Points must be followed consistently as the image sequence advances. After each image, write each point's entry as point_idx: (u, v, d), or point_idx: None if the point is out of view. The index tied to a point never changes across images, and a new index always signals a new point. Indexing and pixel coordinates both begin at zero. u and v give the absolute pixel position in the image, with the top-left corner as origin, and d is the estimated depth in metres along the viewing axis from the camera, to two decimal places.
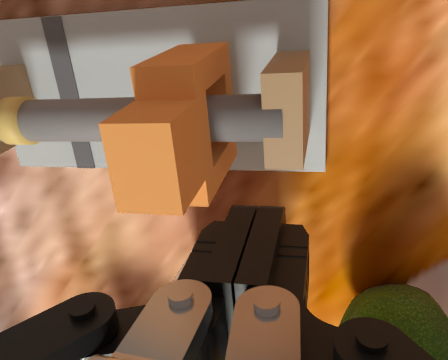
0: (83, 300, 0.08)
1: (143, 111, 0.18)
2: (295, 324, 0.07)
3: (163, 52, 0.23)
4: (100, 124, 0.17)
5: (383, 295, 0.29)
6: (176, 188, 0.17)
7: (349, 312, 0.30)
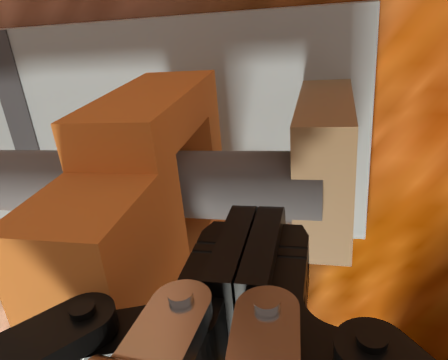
0: (83, 300, 0.08)
1: (65, 203, 0.11)
2: (295, 324, 0.07)
3: (117, 88, 0.16)
4: None
5: None
6: None
7: None
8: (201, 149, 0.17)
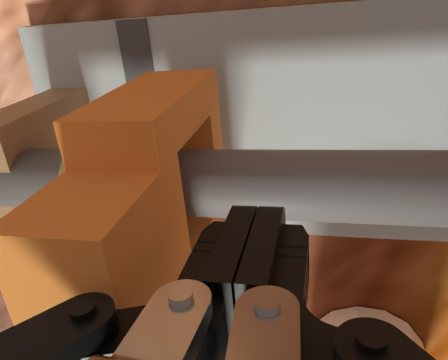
0: (83, 300, 0.08)
1: (67, 201, 0.11)
2: (295, 324, 0.07)
3: (119, 87, 0.16)
4: None
5: None
6: None
7: None
8: (202, 148, 0.17)
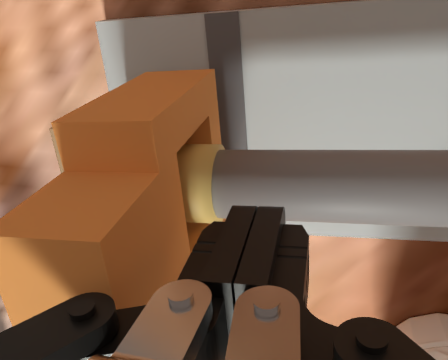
0: (83, 301, 0.08)
1: (66, 202, 0.11)
2: (295, 324, 0.07)
3: (118, 87, 0.16)
4: None
5: None
6: None
7: None
8: None
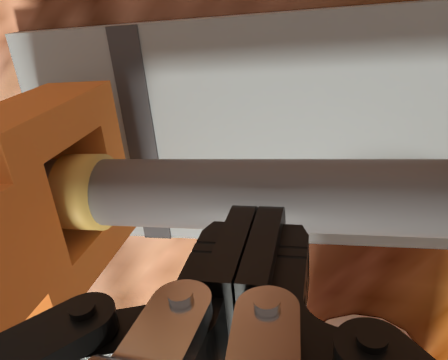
0: (83, 300, 0.08)
1: None
2: (295, 324, 0.07)
3: (5, 100, 0.16)
4: None
5: None
6: None
7: None
8: None
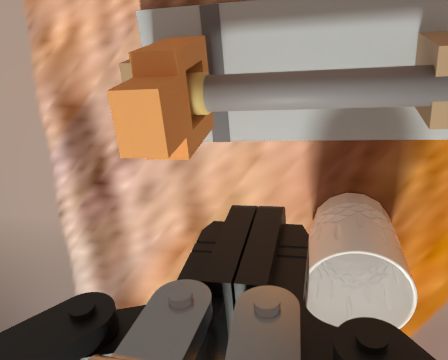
0: (83, 300, 0.08)
1: (139, 83, 0.25)
2: (295, 324, 0.07)
3: (153, 43, 0.30)
4: (108, 91, 0.24)
5: None
6: (163, 138, 0.24)
7: None
8: None
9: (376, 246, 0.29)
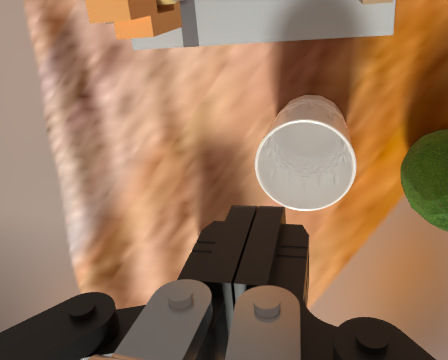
0: (82, 300, 0.08)
1: None
2: (295, 324, 0.07)
3: None
4: None
5: (439, 131, 0.36)
6: (125, 0, 0.28)
7: (411, 149, 0.37)
8: None
9: (320, 118, 0.33)
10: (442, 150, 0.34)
